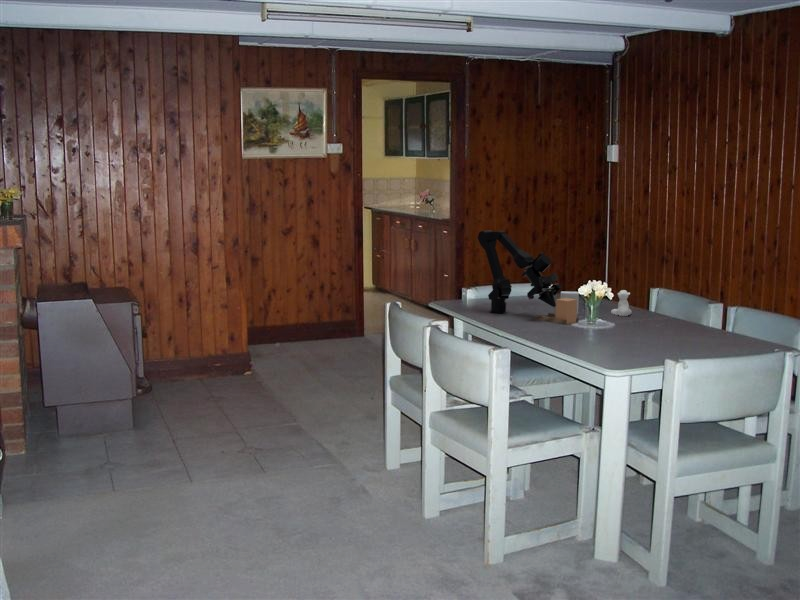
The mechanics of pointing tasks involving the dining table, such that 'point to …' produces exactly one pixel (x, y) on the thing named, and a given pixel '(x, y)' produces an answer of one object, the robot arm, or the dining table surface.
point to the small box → (570, 296)
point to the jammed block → (566, 309)
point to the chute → (553, 319)
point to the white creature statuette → (622, 304)
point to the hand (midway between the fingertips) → (554, 306)
